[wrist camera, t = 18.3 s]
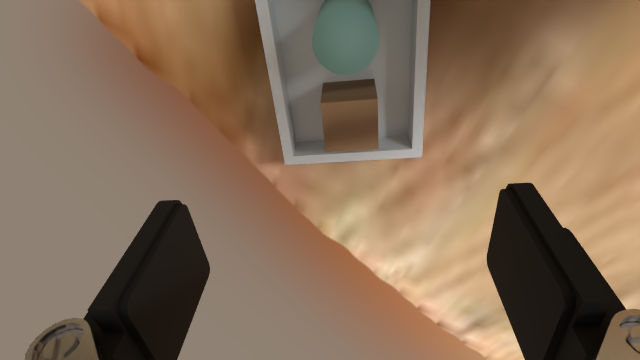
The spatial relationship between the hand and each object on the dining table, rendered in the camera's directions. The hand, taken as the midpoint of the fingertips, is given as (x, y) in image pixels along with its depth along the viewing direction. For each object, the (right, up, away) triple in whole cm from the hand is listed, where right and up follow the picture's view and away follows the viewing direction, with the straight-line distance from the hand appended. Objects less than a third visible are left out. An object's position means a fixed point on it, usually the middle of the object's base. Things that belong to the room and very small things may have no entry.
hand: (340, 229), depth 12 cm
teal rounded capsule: (+2, +16, +23) cm, 28 cm away
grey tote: (+2, +13, +25) cm, 28 cm away
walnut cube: (+2, +9, +27) cm, 29 cm away
